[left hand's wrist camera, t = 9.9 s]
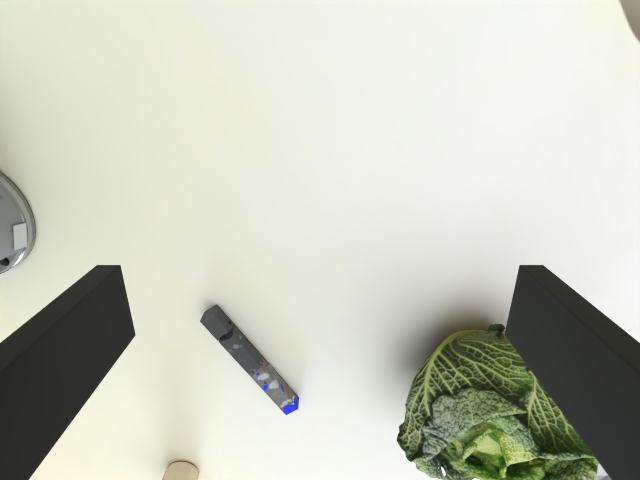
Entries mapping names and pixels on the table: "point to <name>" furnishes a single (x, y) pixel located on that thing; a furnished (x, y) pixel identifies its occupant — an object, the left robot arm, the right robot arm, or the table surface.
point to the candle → (181, 472)
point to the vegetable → (488, 416)
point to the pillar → (250, 359)
